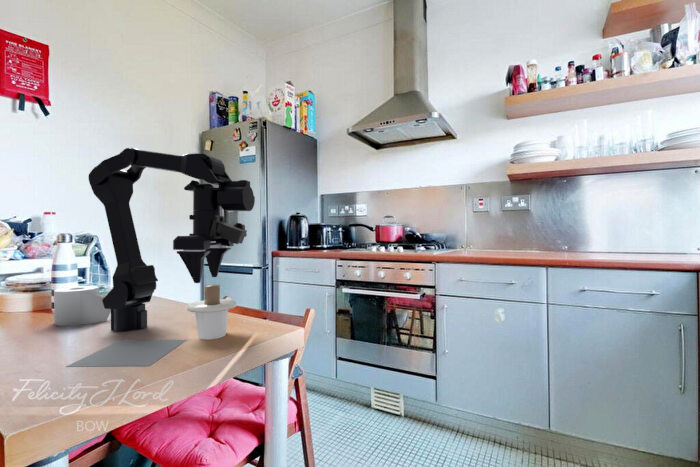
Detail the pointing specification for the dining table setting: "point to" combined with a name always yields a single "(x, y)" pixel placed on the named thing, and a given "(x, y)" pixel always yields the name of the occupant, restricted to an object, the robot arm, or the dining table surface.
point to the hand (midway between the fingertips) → (206, 279)
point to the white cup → (211, 324)
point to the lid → (211, 301)
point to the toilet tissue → (79, 306)
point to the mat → (129, 353)
